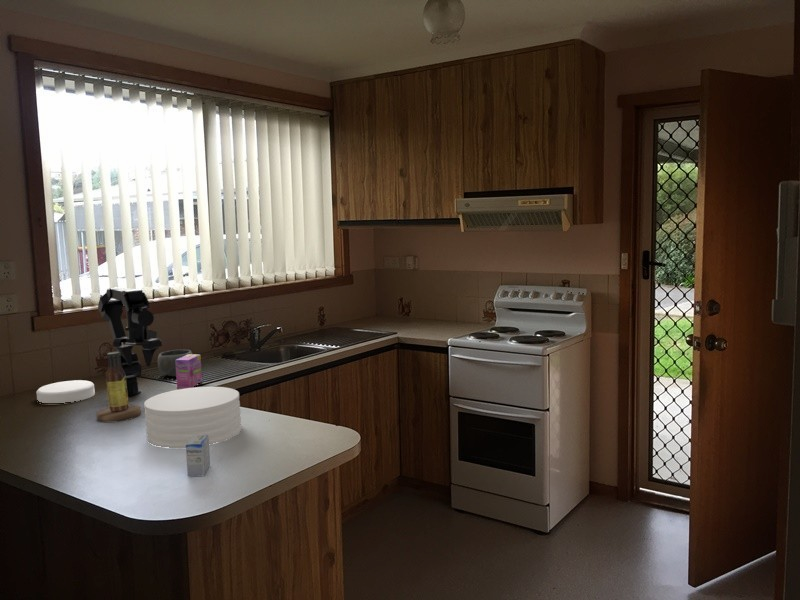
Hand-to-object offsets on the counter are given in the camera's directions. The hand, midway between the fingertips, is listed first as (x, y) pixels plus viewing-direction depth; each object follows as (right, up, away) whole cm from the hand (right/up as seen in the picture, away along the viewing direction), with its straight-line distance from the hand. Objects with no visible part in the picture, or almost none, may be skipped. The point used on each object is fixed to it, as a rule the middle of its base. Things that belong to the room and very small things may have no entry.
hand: (139, 365), depth 257 cm
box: (+12, -10, +21) cm, 27 cm away
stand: (0, -15, -18) cm, 24 cm away
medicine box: (+43, -21, -73) cm, 87 cm away
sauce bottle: (0, -14, -18) cm, 22 cm away
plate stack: (+32, -18, -41) cm, 55 cm away
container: (-32, -14, +11) cm, 36 cm away
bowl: (+1, -8, +41) cm, 42 cm away
